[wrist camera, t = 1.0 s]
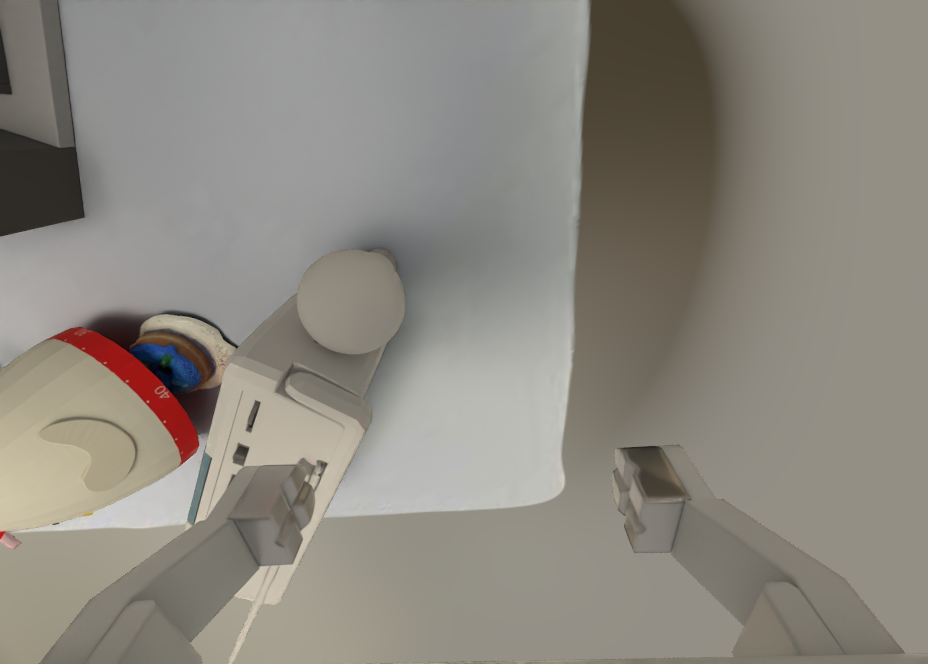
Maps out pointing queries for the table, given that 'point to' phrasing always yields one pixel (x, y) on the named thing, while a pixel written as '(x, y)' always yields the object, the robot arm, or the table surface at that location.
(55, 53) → the drink station
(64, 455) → the kitchen timer
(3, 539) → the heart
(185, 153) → the table surface
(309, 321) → the lightbulb
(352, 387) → the radio
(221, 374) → the dessert
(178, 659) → the robot arm
